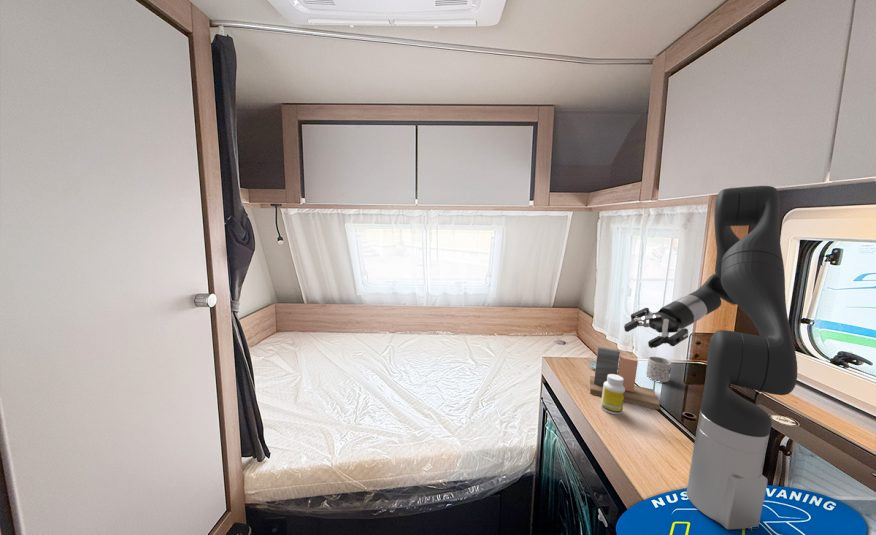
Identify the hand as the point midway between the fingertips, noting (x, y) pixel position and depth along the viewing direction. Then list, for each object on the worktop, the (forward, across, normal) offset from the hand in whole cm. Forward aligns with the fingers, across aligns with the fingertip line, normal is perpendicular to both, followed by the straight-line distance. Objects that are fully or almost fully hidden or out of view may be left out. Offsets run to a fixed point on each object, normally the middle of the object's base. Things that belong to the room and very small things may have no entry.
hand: (636, 336), depth 92 cm
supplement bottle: (+17, +6, +13) cm, 22 cm away
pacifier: (+4, -15, +25) cm, 30 cm away
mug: (-12, -8, +32) cm, 35 cm away
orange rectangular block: (+6, 0, +18) cm, 19 cm away
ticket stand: (+8, 0, +19) cm, 21 cm away
